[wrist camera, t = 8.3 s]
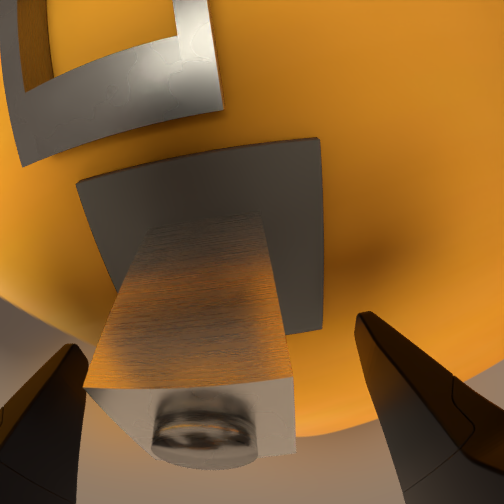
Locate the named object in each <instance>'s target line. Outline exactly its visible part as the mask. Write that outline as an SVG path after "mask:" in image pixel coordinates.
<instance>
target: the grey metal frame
mask: <svg viewBox="0 0 504 504" xmlns="http://www.w3.org/2000/svg"><path fill="white" fill-rule="evenodd" d="M173 7H174V14H175V21H176V28H177V35H178V36H173V37H169V38H165V39H161V40H157V41H153V42H150V43H146V44H143V45H139V46H136V47H132V48H129V49H126V50H123V51H120V52H117V53H114V54H111V55H108V56H106V57H103V58H100V59H98V60H95V61H92V62H90V63H87V64H85V65H82V66H80V67H78V68H75V69H73V70H71V71H68V72H66V73H64V74H62V75H60V76H57V77H55V78H53V72H52V65H51V57H50V49H49V40H48V29H47V15H46V0H0V53H1V64H2V73H3V81H4V88H5V94H6V100H7V106H8V111H9V116H10V121H11V125H12V130H13V134H14V138H15V142H16V146H17V150H18V154H19V157H20V161H21V164H22V167H25V166H27V165H29V164H32V163H34V162H37V161H39V160H42V159H44V158H47V157H49V156H52V155H54V154H57V153H60V152H62V151H65V150H68V149H71V148H73V147H76V146H79V145H82V144H85V143H88V142H91V141H94V140H97V139H101V138H104V137H107V136H110V135H114V134H117V133H121V132H124V131H128V130H132V129H135V128H139V127H143V126H147V125H151V124H155V123H159V122H164V121H168V120H173V119H177V118H182V117H187V116H192V115H197V114H203V113H208V112H214V111H220V110H224V107H225V101H224V95H223V88H222V82H221V75H220V68H219V62H218V55H217V49H216V42H215V35H214V29H213V22H212V16H211V9H210V2H209V0H173Z"/></svg>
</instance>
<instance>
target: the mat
mask: <svg viewBox="0 0 504 504" xmlns="http://www.w3.org/2000/svg"><path fill="white" fill-rule="evenodd" d="M76 188H77V191H78V194H79V197H80V200H81V203H82V206H83V209H84V212H85V214H86V217H87V220H88V223H89V225H90V228H91V231H92V234H93V236H94V239H95V241H96V244H97V246H98V249H99V251H100V254H101V256H102V259H103V261H104V263H105V266H106V268H107V271H108V273H109V275H110V277H111V280H112V282H113V284H114V286H115V289H116V291H117V293H119V290H120V288H121V286H122V283H123V281H124V279H125V277H126V274H127V272H128V270H129V268H130V266H131V264H132V261H133V259H134V257H135V255H136V253H137V251H138V249H139V247H140V245H141V243H142V241H143V239H144V236H145V234H146V232H147V230H148V228H153V227H158V226H164V225H170V224H176V223H182V222H188V221H194V220H200V219H206V218H213V217H219V216H226V215H232V214H239V213H246V212H253V211H260V214H261V218H262V223H263V228H264V233H265V237H266V242H267V247H268V252H269V257H270V262H271V267H272V271H273V276H274V281H275V286H276V291H277V296H278V301H279V306H280V311H281V316H282V322H283V327H284V332H285V335H290V334H296V333H302V332H308V331H314V330H320V329H322V321H323V285H324V224H323V188H322V166H321V149H320V139H318V138H317V137H316V138H304V139H293V140H283V141H274V142H266V143H258V144H250V145H243V146H236V147H230V148H223V149H217V150H211V151H205V152H199V153H194V154H189V155H183V156H178V157H173V158H168V159H164V160H159V161H154V162H150V163H146V164H141V165H137V166H133V167H129V168H125V169H121V170H117V171H113V172H109V173H105V174H102V175H98V176H94V177H91V178H87V179H84V180H80V181H79V182H78V183H76Z"/></svg>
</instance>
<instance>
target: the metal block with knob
mask: <svg viewBox="0 0 504 504" xmlns="http://www.w3.org/2000/svg"><path fill="white" fill-rule="evenodd" d="M83 388H84V389H85V391H86V392H87V393H88V394H89V395H90V396H91V397H92V399H93V400H94V401H95V402H96V403H97V404H98V405H99V406H100V407H101V408H102V409H103V410H104V411H105V412H106V414H107V415H108V416H109V417H110V418H111V419H112V420H113V421H114V422H116V424H117V425H118V426H119V427H120V428H121V429H122V430H123V431H125V433H126V434H128V435H129V436H130V437H131V438H132V439H133V440H134V441H135V442H136V443H137V444H138V445H139V446H141V447H142V448H143V449H144V450H145V451H146V452H147V453H149V454H150V455H151V456H152V457H153V458H155V459H156V460H164V461H166V462H168V463H172V464H174V465H178V466H182V467H187V468H193V469H201V470H222V469H223V470H224V469H231V468H237V467H241V466H244V465H247V464H249V463H251V462H253V461H254V460H255V459H257V458H261V457H270V456H278V455H286V454H292V453H296V432H295V406H294V385H293V374H292V368H291V363H290V358H289V352H288V347H287V342H286V337H285V332H284V327H283V322H282V316H281V311H280V306H279V301H278V296H277V291H276V286H275V281H274V276H273V271H272V267H271V262H270V257H269V252H268V247H267V242H266V237H265V233H264V228H263V223H262V218H261V214H260V211H253V212H246V213H239V214H232V215H226V216H219V217H213V218H206V219H200V220H194V221H188V222H182V223H176V224H170V225H164V226H158V227H153V228H148V230H147V232H146V234H145V236H144V239H143V241H142V243H141V245H140V247H139V249H138V251H137V253H136V255H135V257H134V259H133V261H132V264H131V266H130V268H129V270H128V272H127V274H126V277H125V279H124V281H123V283H122V286H121V288H120V290H119V293H118V295H117V297H116V300H115V302H114V304H113V307H112V309H111V311H110V314H109V316H108V319H107V321H106V324H105V326H104V329H103V331H102V334H101V337H100V339H99V342H98V345H97V347H96V350H95V353H94V355H93V358H92V361H91V364H90V367H89V370H88V372H87V375H86V378H85V381H84V384H83Z"/></svg>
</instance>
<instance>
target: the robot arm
mask: <svg viewBox="0 0 504 504" xmlns="http://www.w3.org/2000/svg"><path fill="white" fill-rule="evenodd" d="M354 336H355V341H356V345H357V349H358V353H359V357H360V361H361V365H362V369H363V373H364V377H365V381H366V384H367V387H368V390H369V393H370V395H371V398H372V401H373V404H374V406H375V409H376V412H377V415H378V418H379V420H380V424H381V426H382V429H383V432H384V435H385V438H386V441H387V444H388V447H389V450H390V453H391V456H392V460H393V463H394V466H395V469H396V472H397V475H398V479H399V482H400V485H401V489H402V492H403V496H404V500H405V503H406V504H504V410H503V409H501V408H500V407H498V406H497V405H495V404H493V403H492V402H490V401H489V400H487V399H486V398H484V397H483V396H481V395H480V394H478V393H477V392H475V391H474V390H472V389H471V388H470V387H469V386H467V385H466V384H465V383H463V382H462V381H461V380H460V379H458V378H457V377H456V376H453V374H452V373H451V372H449V371H448V370H447V369H446V368H444V367H443V366H442V365H441V364H439V363H438V362H437V361H435V360H434V359H433V358H432V357H430V356H429V355H428V354H426V353H425V352H424V351H423V350H421V349H420V348H419V347H417V346H416V345H415V344H414V343H412V342H411V341H410V340H408V339H407V338H406V337H404V336H403V335H402V334H401V333H399V332H398V331H397V330H395V329H394V328H393V327H391V326H390V325H389V324H387V323H386V322H385V321H384V320H382V319H381V318H380V317H378V316H377V315H376V314H374V313H373V312H371V311H366V312H361V313H358V314H357V317H356V324H355V331H354ZM88 367H89V364H88V360H87V358H86V356H85V355H84V354H83V352H82V351H81V349H80V348H79V346H78V345H76V344H65V345H64V346H63V347H62V348H61V349H60V350H59V351H58V352H57V353H55V355H53V356H52V357H51V358H50V359H49V360H48V361H47V362H46V363H45V364H44V365H43V366H42V367H41V368H40V369H39V370H38V371H37V372H36V373H35V374H34V375H33V376H32V377H31V378H30V379H29V380H28V381H27V382H26V383H25V384H24V385H23V386H22V387H21V388H20V389H19V390H18V391H17V392H16V393H15V395H13V397H11V398H10V399H9V401H8V402H7V403H6V404H5V405H4V407H2V408H1V409H0V504H76V491H77V473H78V461H79V450H80V441H81V431H82V425H83V417H84V410H85V403H86V391H85V389H84V388H83V384H84V381H85V378H86V375H87V372H88Z"/></svg>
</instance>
